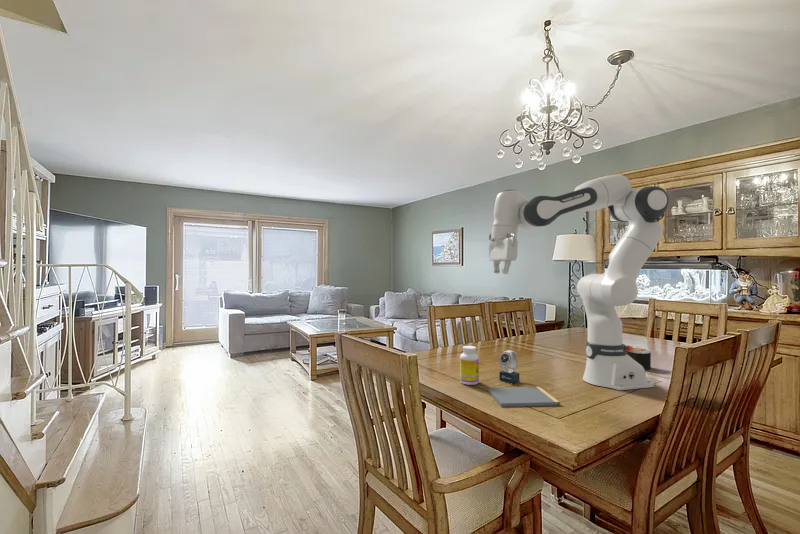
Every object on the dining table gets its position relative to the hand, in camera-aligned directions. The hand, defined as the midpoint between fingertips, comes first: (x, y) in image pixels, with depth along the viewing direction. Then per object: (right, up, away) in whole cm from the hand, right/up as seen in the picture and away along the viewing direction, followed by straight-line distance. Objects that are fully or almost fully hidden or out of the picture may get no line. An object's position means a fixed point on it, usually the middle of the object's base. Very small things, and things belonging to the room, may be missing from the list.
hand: (500, 273), depth 134 cm
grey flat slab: (+3, -39, -14) cm, 42 cm away
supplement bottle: (-11, -39, +1) cm, 41 cm away
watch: (+4, -39, +3) cm, 40 cm away
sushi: (+62, -39, +20) cm, 76 cm away
